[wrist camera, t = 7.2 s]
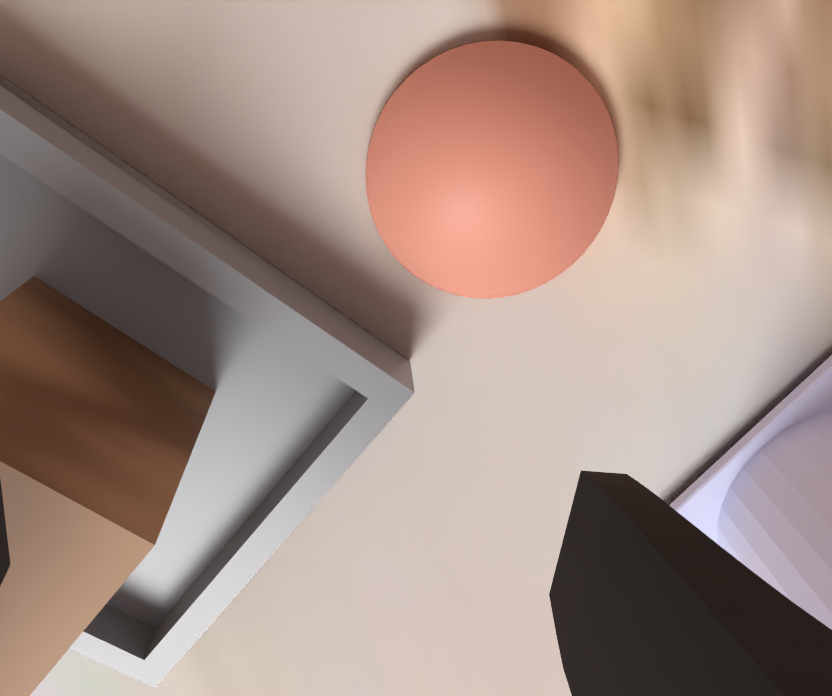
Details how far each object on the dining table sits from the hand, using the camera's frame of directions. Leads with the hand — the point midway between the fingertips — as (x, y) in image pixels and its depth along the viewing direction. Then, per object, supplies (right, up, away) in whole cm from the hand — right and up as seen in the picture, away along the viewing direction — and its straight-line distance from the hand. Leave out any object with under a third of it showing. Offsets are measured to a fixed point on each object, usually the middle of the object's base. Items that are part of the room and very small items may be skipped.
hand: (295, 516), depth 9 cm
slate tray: (-7, +1, +10) cm, 12 cm away
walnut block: (-7, +1, +9) cm, 12 cm away
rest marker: (+3, +6, +8) cm, 11 cm away
